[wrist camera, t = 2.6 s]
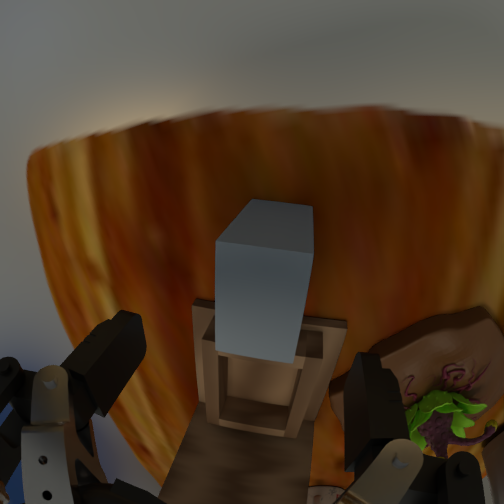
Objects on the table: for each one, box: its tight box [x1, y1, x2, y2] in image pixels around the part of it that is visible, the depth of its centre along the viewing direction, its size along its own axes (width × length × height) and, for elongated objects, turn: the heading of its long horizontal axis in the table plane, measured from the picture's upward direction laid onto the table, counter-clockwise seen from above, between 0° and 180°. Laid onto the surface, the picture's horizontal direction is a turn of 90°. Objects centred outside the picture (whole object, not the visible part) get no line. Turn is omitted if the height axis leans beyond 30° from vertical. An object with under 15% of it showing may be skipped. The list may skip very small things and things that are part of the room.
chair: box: [158, 299, 347, 504], centre depth 17 cm, size 12×14×19 cm
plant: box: [329, 306, 504, 459], centre depth 18 cm, size 20×20×11 cm
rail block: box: [215, 199, 314, 364], centre depth 17 cm, size 4×7×8 cm, turn 176°
